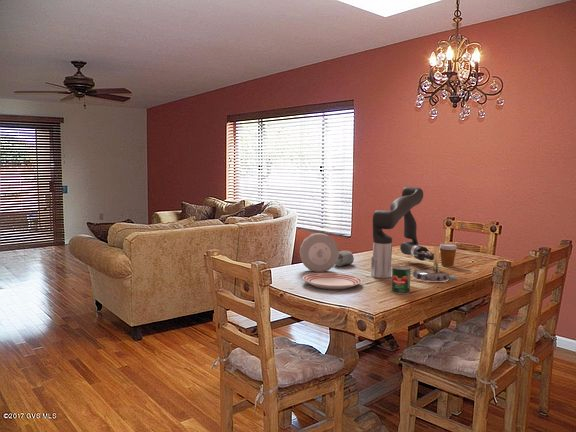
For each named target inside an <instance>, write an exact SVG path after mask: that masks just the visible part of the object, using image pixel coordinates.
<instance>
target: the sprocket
mask: <svg viewBox="0 0 576 432" xmlns="http://www.w3.org/2000/svg"><path fill="white" fill-rule="evenodd" d="M433 253H434V259H433V268H432V269H428V268H427V269H418V270H413V272H412V278H413V277H415V278H417V279H418V278H420V279H421V280H430V281H435V280H438V281H443V280H448V279H449V276H450V274H449V273H447V272H446V271H440V270H439V262H440V261H439V260H440V259H439V258H440V247H439V246H438V247H436V246H435V247H434V248H433Z"/></svg>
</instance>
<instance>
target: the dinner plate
mask: <svg viewBox="0 0 576 432" xmlns="http://www.w3.org/2000/svg"><path fill="white" fill-rule="evenodd" d="M302 280H303V281H304V282H305V283H307V284H309V285H312V286H314V287H316V288H320V289H324V290H346V289H350V288H351V287H355V286H357V285H359V284H361V283H362V282H363V280H362V278H360V277H358V276H355V275H350V274H345V273H336V272H313V273H308V274H305V275H303V276H302Z"/></svg>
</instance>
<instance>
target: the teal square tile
mask: <svg viewBox="0 0 576 432" xmlns="http://www.w3.org/2000/svg"><path fill="white" fill-rule="evenodd" d="M449 278H450V279H449ZM449 278H448V279H449V280H457V276H455V275H449Z"/></svg>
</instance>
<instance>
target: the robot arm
mask: <svg viewBox="0 0 576 432" xmlns="http://www.w3.org/2000/svg"><path fill="white" fill-rule="evenodd" d="M423 199H424V191H423V189H422V188H420V187H413V186H405V187H403V189H402V192H401V196H399V197H398V198H396V199H395V200H393V201H392V202H391V203H390V207H389V209H390V210H385V209H384V210H381V209H380V210H379V209H378V210H375V211H374V212H373V214H372V240H373V241H372V244H373V245H372V256H371V266H370V267H371V268H370V269H371V271H370V276H372V277H373V278H378V279H389V278H392V254H393V253H392V252H393V251H392V250H393V238H392V237H391V235H389V234H387V233H385V232H384V231H383V230H392V229H394V228H395V227H396V225H397V224H398V223H399V221H400V220H401V219H402V218H403V227H404V228H403V237H404V238H405V239H407V240H408V239H409V240H410V241H403V242H401V244H400V246H399V249H400V252H401V253H402V254H403V255H408V256H412V257H414V258H415V259H417V260H419V261H426V260H429V261H434V252H433V253H432V252H430V251H429V249H428V248H427V247H425V246H423V245H421V244H419V242H418V237H417V229H418V227H417V221H416V219H415V217H414V215H413V214H412V211H411V210H412V209H413V208H414V207H416V206H418V205H419V204H420V203H421V202H422V201H423Z"/></svg>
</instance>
